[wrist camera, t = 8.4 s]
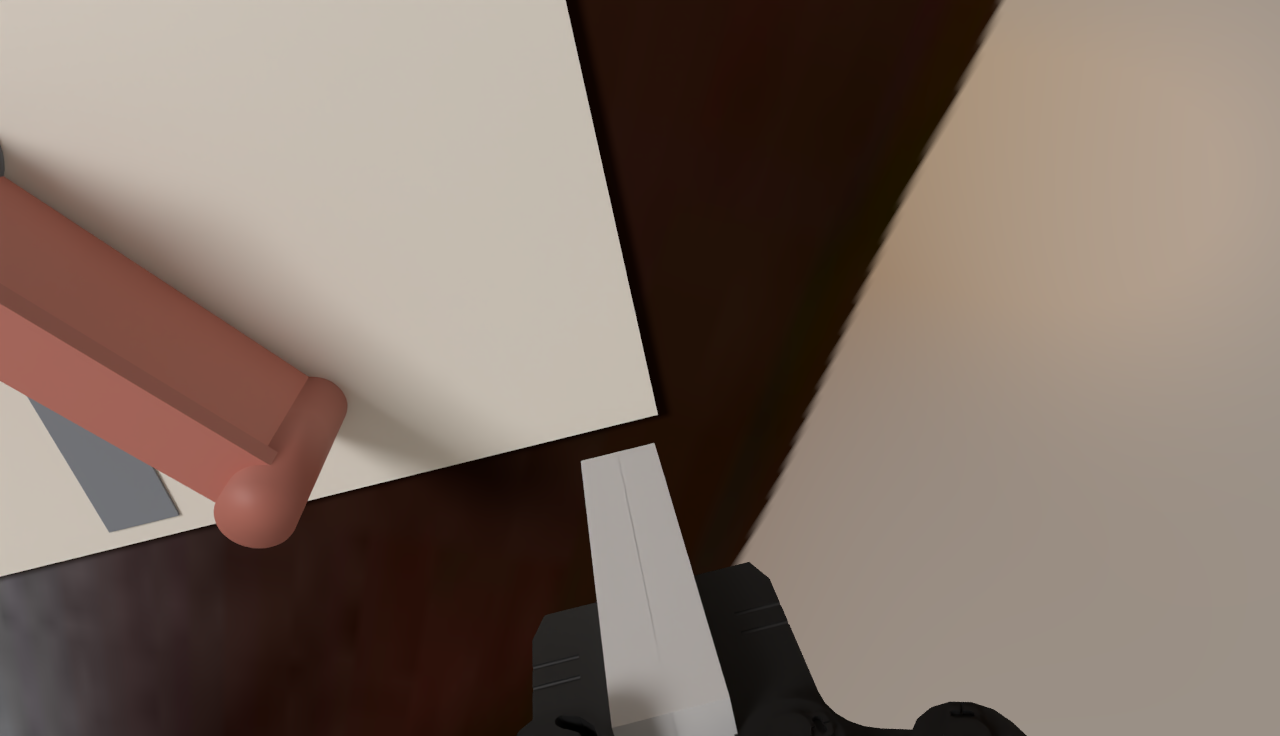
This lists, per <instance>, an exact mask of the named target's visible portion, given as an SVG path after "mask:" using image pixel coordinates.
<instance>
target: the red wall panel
mask: <svg viewBox="0 0 1280 736" xmlns="http://www.w3.org/2000/svg"><path fill="white" fill-rule="evenodd" d="M0 381H1V382H3V383H4V384H6V385H8V386H10V387H11V388H13V389H15V390H17V391H19V392H20V393H22V394H24V395H26V396H27V397H29V398H31V399H33V400H35V401H36V402H38V403H40V404H42V405H43V406H45V407H47V408H49V409H50V410H52V411H54V412H56V413H58V414H59V415H61V416H63V417H65V418H66V419H68V420H70V421H72V422H73V423H75V424H77V425H79V426H81V427H82V428H84V429H86V430H88V431H89V432H91V433H93V434H95V435H96V436H98V437H100V438H102V439H104V440H105V441H107V442H109V443H111V444H112V445H114V446H116V447H118V448H119V449H121V450H123V451H125V452H127V453H128V454H130V455H132V456H134V457H135V458H137V459H139V460H141V461H143V462H144V463H146V464H148V465H150V466H151V467H153V468H155V469H157V470H158V471H160V472H162V473H164V474H166V475H167V476H169V477H171V478H173V479H174V480H176V481H178V482H180V483H181V484H183V485H185V486H187V487H189V488H190V489H192V490H194V491H196V492H197V493H199V494H201V495H203V496H204V497H206V498H208V499H210V500H212V501H213V502H215V506H214V519H215V522H216V524H217V526H218V528H219V529H220V531H221V532H222V533H223V534H224V535H225V536H226V537H227V538H229V539H230V540H232V541H233V542H235V543H237V544H240V545H243V546H246V547H251V548H268V547H272V546H276V545H278V544H280V543H282V542H284V541H285V540H287V539H288V538H289V537H290V536H291V534H292V533H293V532H294V530H295V528H296V526H297V523H298V521H299V519H300V517H301V514H302V512H303V510H304V508H305V505H306V503H307V501H308V499H309V496H310V494H311V492H312V490H313V488H314V485H315V483H316V481H317V479H318V476H319V474H320V472H321V470H322V467H323V465H324V463H325V461H326V458H327V456H328V454H329V452H330V449H331V447H332V445H333V443H334V441H335V438H336V436H337V434H338V432H339V429H340V427H341V425H342V423H343V420H344V418H345V416H346V413H347V400H346V397H345V395H344V393H343V392H342V390H341V389H340V388H339V387H338V386H337V385H336V384H334V383H333V382H331V381H329V380H327V379H324V378H320V377H308V376H307V375H305V374H304V373H302V372H301V371H299V370H298V369H296V368H295V367H293V366H292V365H290V364H289V363H287V362H286V361H284V360H282V359H281V358H279V357H278V356H276V355H275V354H273V353H272V352H270V351H269V350H267V349H266V348H264V347H263V346H261V345H260V344H258V343H257V342H255V341H254V340H252V339H251V338H249V337H247V336H246V335H244V334H243V333H241V332H240V331H238V330H237V329H235V328H234V327H232V326H231V325H229V324H228V323H226V322H225V321H223V320H222V319H220V318H219V317H217V316H216V315H214V314H212V313H211V312H209V311H208V310H206V309H205V308H203V307H202V306H200V305H199V304H197V303H196V302H194V301H193V300H191V299H190V298H188V297H187V296H185V295H184V294H182V293H181V292H179V291H177V290H176V289H174V288H173V287H171V286H170V285H168V284H167V283H165V282H164V281H162V280H161V279H159V278H158V277H156V276H155V275H153V274H152V273H150V272H149V271H147V270H146V269H144V268H142V267H141V266H139V265H138V264H136V263H135V262H133V261H132V260H130V259H129V258H127V257H126V256H124V255H123V254H121V253H120V252H118V251H117V250H115V249H114V248H112V247H111V246H109V245H107V244H106V243H104V242H103V241H101V240H100V239H98V238H97V237H95V236H94V235H92V234H91V233H89V232H88V231H86V230H85V229H83V228H82V227H80V226H79V225H77V224H76V223H74V222H72V221H71V220H69V219H68V218H66V217H65V216H63V215H62V214H60V213H59V212H57V211H56V210H54V209H53V208H51V207H50V206H48V205H47V204H45V203H44V202H42V201H41V200H39V199H37V198H36V197H34V196H33V195H31V194H30V193H28V192H27V191H25V190H24V189H22V188H21V187H19V186H18V185H16V184H15V183H13V182H12V181H10V180H9V179H7V178H6V177H4V176H2V177H0Z"/></svg>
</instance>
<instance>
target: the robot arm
mask: <svg viewBox="0 0 1280 736" xmlns="http://www.w3.org/2000/svg"><path fill="white" fill-rule="evenodd" d="M581 467H582V476H583V484H584V493H585V502H586V510H587V519H588V527H589V536H590V545H591V553H592V562H593V570H594V579H595V587H596V596H597V603H593V604H589V605H585V606H581V607H577V608H573V609H569V610H565V611H561V612H557V613H553V614H549V615H545V616H544V618H543V620H542V622H541V624H540V626H539V628H538V630H537V632H536V635H535V637H534V639H533V670H534V671H533V690H534V692H533V720H532V721H531V722H530V723H528V724H527V725H526V726H525V727H523V728H522V729H521V730H520V731H519V732H518V734H517V735H516V736H1026V735H1025V734H1024V733H1023V732H1022V731H1021V730H1020V729H1019V728H1018V727H1017V726H1016V725H1014V723H1012V722H1011V721H1010V720H1008V719H1007V718H1005V717H1004V716H1002V715H1001V714H1000V713H998V712H997V711H995V710H993V709H991V708H987V707H984V706H981V705H978V704H975V703H972V702H948V703H944V704H941V705H938V706H934V707H931V708H930V709H929V710H927V711H926V712H925V713H924V714H923V715H921V716H920V717H919V718H918V719H917V721H916V723H915V725H914V728H913V730H906V729H905V730H904V729H880V728H873V727H866V726H862V725H859V724H856V723H853V722H850V721H848V720H846V719H845V718H843V717H841V716H840V715H838V714H836V713H835V712H834V711H833V710H832V709H831V708H829V706H828V705H827V704H825V702H824V701H823V699H822V697H821V696H820V694H819V692H818V690H817V688H816V686H815V683H814V681H813V678H812V676H811V674H810V671H809V669H808V667H807V665H806V662H805V660H804V658H803V655H802V653H801V651H800V648H799V646H798V644H797V641H796V639H795V637H794V634H793V632H792V630H791V628H790V625H789V624H788V621H787V618H786V616H785V614H784V611H783V609H782V607H781V606H780V603H779V600H778V597H777V595H776V593H775V590H774V588H773V586H772V583H771V581H770V579H769V578H768V577H767V576H766V575H764V574H763V573H762V572H760V571H759V570H758V569H757V568H756V567H754V566H753V565H752V564H751V563H750V562H747V563H743V564H739V565H735V566H731V567H727V568H723V569H719V570H715V571H711V572H708V573H704V574H700V575H696V576H694V575H693V572H692V569H691V565H690V562H689V558H688V555H687V552H686V548H685V545H684V542H683V538H682V535H681V531H680V528H679V525H678V521H677V518H676V515H675V511H674V508H673V505H672V501H671V498H670V494H669V491H668V488H667V484H666V481H665V478H664V474H663V471H662V467H661V464H660V461H659V457H658V454H657V451H656V447H655V444H654V443H653V444H649V445H644V446H640V447H636V448H632V449H628V450H624V451H620V452H616V453H612V454H608V455H604V456H600V457H596V458H592V459H588V460H584V461H581Z"/></svg>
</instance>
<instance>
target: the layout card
mask: <svg viewBox="0 0 1280 736" xmlns="http://www.w3.org/2000/svg"><path fill="white" fill-rule="evenodd" d="M2 176H4V177H6V178H7V179H9V180H10V181H12V182H13V183H15V184H16V185H18V186H19V187H21V188H22V189H24V190H25V191H27V192H28V193H30V194H31V195H33V196H34V197H36V198H37V199H39V200H41V201H42V202H44V203H45V204H47V205H48V206H50V207H51V208H53V209H54V210H56V211H57V212H59V213H60V214H62V215H63V216H65V217H66V218H68V219H69V220H71V221H72V222H74V223H76V224H77V225H79V226H80V227H82V228H83V229H85V230H86V231H88V232H89V233H91V234H92V235H94V236H95V237H97V238H98V239H100V240H101V241H103V242H104V243H106V244H107V245H109V246H111V247H112V248H114V249H115V250H117V251H118V252H120V253H121V254H123V255H124V256H126V257H127V258H129V259H130V260H132V261H133V262H135V263H136V264H138V265H139V266H141V267H142V268H144V269H146V270H147V271H149V272H150V273H152V274H153V275H155V276H156V277H158V278H159V279H161V280H162V281H164V282H165V283H167V284H168V285H170V286H171V287H173V288H174V289H176V290H177V291H179V292H181V293H182V294H184V295H185V296H187V297H188V298H190V299H191V300H193V301H194V302H196V303H197V304H199V305H200V306H202V307H203V308H205V309H206V310H208V311H209V312H211V313H212V314H214V315H216V316H217V317H219V318H220V319H222V320H223V321H225V322H226V323H228V324H229V325H231V326H232V327H234V328H235V329H237V330H238V331H240V332H241V333H243V334H244V335H246V336H247V337H249V338H251V339H252V340H254V341H255V342H257V343H258V344H260V345H261V346H263V347H264V348H266V349H267V350H269V351H270V352H272V353H273V354H275V355H276V356H278V357H279V358H281V359H282V360H284V361H286V362H287V363H289V364H290V365H292V366H293V367H295V368H296V369H298V370H299V371H301V372H302V373H304V374H305V375H307V376H308V377H320V378H324V379H327V380H329V381H331V382H333V383H334V384H336V385H337V386H338V387H339V388H340V389H341V390H342V392H343V393H344V395H345V397H346V400H347V413H346V416H345V418H344V420H343V423H342V425H341V427H340V429H339V432H338V434H337V436H336V438H335V441H334V443H333V445H332V447H331V449H330V452H329V454H328V456H327V458H326V461H325V463H324V465H323V467H322V470H321V472H320V474H319V476H318V479H317V481H316V483H315V485H314V488H313V490H312V492H311V494H310V496H309V499H308V501H309V500H313V499H318V498H322V497H326V496H330V495H334V494H338V493H342V492H346V491H350V490H354V489H358V488H362V487H366V486H370V485H374V484H378V483H383V482H387V481H391V480H395V479H399V478H403V477H407V476H411V475H415V474H419V473H423V472H427V471H431V470H435V469H439V468H444V467H448V466H452V465H456V464H460V463H464V462H468V461H472V460H476V459H480V458H484V457H488V456H492V455H496V454H500V453H504V452H509V451H513V450H517V449H521V448H525V447H529V446H533V445H537V444H541V443H545V442H549V441H553V440H557V439H561V438H565V437H569V436H574V435H578V434H582V433H586V432H590V431H594V430H598V429H602V428H606V427H610V426H614V425H618V424H622V423H626V422H630V421H634V420H639V419H643V418H647V417H651V416H655V415H658V413H657V408H656V404H655V399H654V395H653V390H652V386H651V381H650V377H649V373H648V368H647V364H646V359H645V355H644V350H643V346H642V341H641V337H640V332H639V328H638V323H637V319H636V314H635V310H634V305H633V301H632V296H631V292H630V287H629V283H628V278H627V274H626V269H625V265H624V260H623V256H622V251H621V247H620V242H619V238H618V233H617V229H616V224H615V220H614V215H613V211H612V206H611V202H610V197H609V193H608V188H607V184H606V180H605V175H604V171H603V166H602V162H601V157H600V153H599V148H598V144H597V139H596V135H595V130H594V126H593V121H592V117H591V112H590V108H589V103H588V99H587V94H586V90H585V85H584V81H583V76H582V72H581V67H580V63H579V58H578V54H577V49H576V45H575V40H574V36H573V31H572V27H571V22H570V18H569V13H568V9H567V4H566V0H0V177H2ZM214 506H215V502H213V501H212V500H210V499H208V498H206V497H204V496H203V495H201V494H199V493H197V492H196V491H194V490H192V489H190V488H189V487H187V486H185V485H183V484H181V483H180V482H178V481H176V480H174V479H173V478H171V477H169V476H167V475H166V474H164V473H162V472H160V471H158V470H157V469H155V468H153V467H151V466H150V465H148V464H146V463H144V462H143V461H141V460H139V459H137V458H135V457H134V456H132V455H130V454H128V453H127V452H125V451H123V450H121V449H119V448H118V447H116V446H114V445H112V444H111V443H109V442H107V441H105V440H104V439H102V438H100V437H98V436H96V435H95V434H93V433H91V432H89V431H88V430H86V429H84V428H82V427H81V426H79V425H77V424H75V423H73V422H72V421H70V420H68V419H66V418H65V417H63V416H61V415H59V414H58V413H56V412H54V411H52V410H50V409H49V408H47V407H45V406H43V405H42V404H40V403H38V402H36V401H35V400H33V399H31V398H29V397H27V396H26V395H24V394H22V393H20V392H19V391H17V390H15V389H13V388H11V387H10V386H8V385H6V384H4V383H3V382H1V381H0V577H1V576H5V575H9V574H13V573H17V572H21V571H25V570H29V569H33V568H37V567H41V566H45V565H49V564H53V563H57V562H62V561H66V560H70V559H74V558H78V557H82V556H86V555H90V554H94V553H98V552H102V551H106V550H110V549H114V548H118V547H123V546H127V545H131V544H135V543H139V542H143V541H147V540H151V539H155V538H159V537H163V536H167V535H171V534H175V533H179V532H183V531H188V530H192V529H196V528H200V527H204V526H208V525H212V524H216V522H215V519H214Z"/></svg>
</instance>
